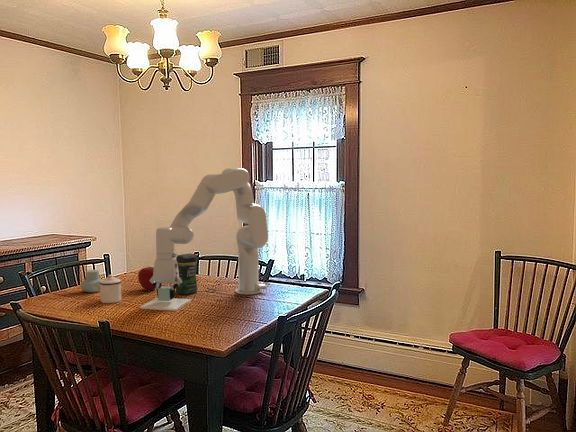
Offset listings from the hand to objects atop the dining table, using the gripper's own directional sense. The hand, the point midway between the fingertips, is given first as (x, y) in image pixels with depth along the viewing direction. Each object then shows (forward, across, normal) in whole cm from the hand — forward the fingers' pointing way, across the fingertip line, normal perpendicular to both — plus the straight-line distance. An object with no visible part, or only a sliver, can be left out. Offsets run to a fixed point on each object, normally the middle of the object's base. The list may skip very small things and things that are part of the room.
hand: (166, 297), depth 215 cm
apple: (+3, +20, -24) cm, 31 cm away
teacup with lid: (+3, +28, -1) cm, 28 cm away
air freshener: (+3, +45, -15) cm, 48 cm away
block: (+1, 0, 0) cm, 1 cm away
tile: (+3, 0, 0) cm, 3 cm away
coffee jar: (+3, 0, -22) cm, 22 cm away
